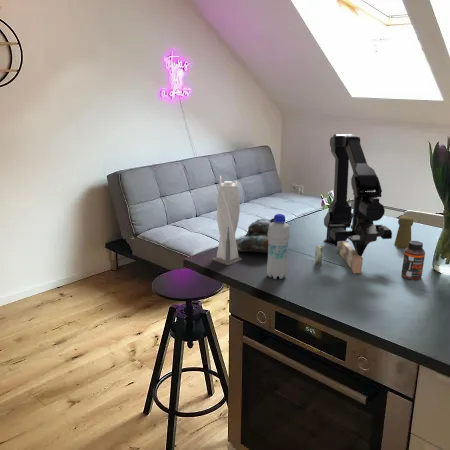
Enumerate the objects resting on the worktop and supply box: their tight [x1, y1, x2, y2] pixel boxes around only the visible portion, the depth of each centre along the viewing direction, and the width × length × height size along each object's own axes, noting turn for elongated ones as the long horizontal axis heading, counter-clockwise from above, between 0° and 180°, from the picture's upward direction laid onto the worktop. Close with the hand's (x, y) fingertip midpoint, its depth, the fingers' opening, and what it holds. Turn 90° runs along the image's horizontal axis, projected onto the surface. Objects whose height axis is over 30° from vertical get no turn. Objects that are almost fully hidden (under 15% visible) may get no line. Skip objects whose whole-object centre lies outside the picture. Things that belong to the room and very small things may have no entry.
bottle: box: [266, 213, 291, 280], centre depth 153 cm, size 7×7×20 cm
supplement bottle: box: [401, 240, 426, 281], centre depth 155 cm, size 6×6×11 cm
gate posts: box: [314, 241, 341, 266], centre depth 170 cm, size 2×16×7 cm, turn 138°
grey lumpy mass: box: [237, 217, 274, 254], centre depth 176 cm, size 15×12×14 cm
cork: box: [393, 215, 414, 250], centre depth 183 cm, size 6×6×11 cm
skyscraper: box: [212, 175, 243, 266], centre depth 166 cm, size 8×8×28 cm
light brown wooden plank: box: [339, 240, 364, 274], centre depth 166 cm, size 17×2×5 cm, turn 4°
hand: (358, 258), depth 164 cm, fingers closed
